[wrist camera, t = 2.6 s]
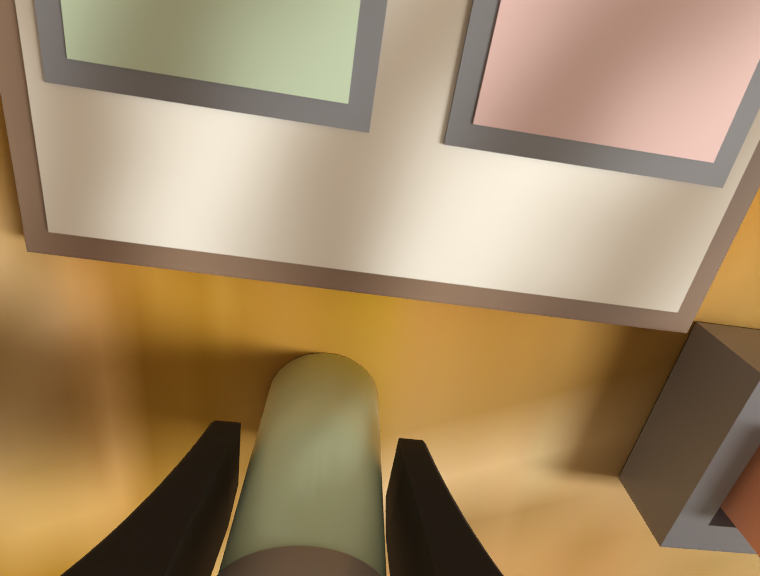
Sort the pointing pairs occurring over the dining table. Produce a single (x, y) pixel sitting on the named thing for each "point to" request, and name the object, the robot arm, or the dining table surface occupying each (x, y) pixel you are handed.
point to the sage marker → (313, 477)
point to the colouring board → (395, 144)
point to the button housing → (699, 441)
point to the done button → (746, 502)
